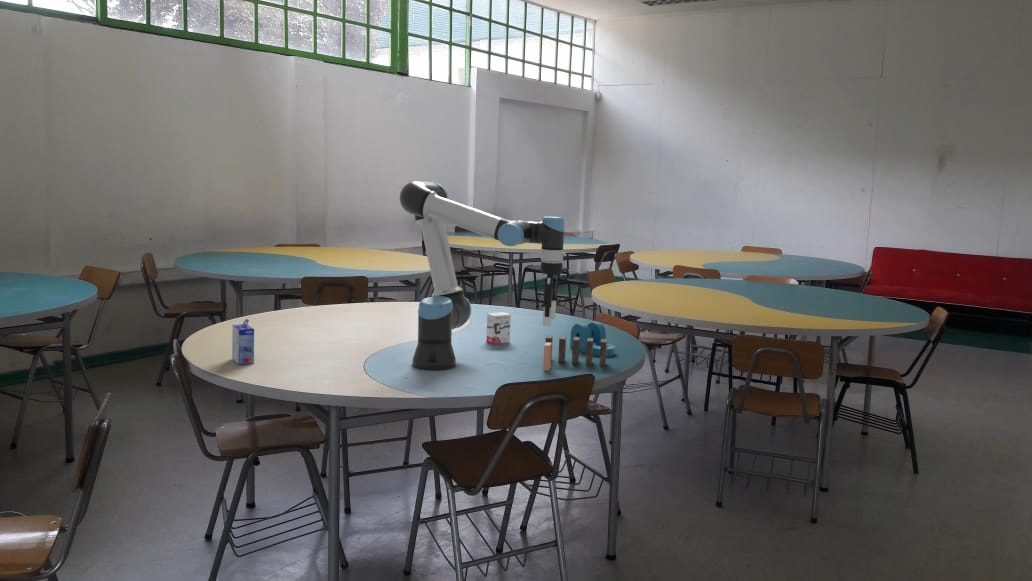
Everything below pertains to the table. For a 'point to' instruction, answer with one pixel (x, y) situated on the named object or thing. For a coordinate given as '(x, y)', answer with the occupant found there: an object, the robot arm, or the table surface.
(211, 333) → the table surface
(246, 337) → the ink cartridge box
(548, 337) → the tile
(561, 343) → the tile
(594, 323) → the camera mount
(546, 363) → the tile
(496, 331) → the ink box
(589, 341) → the tile
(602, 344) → the tile
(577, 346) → the tile
